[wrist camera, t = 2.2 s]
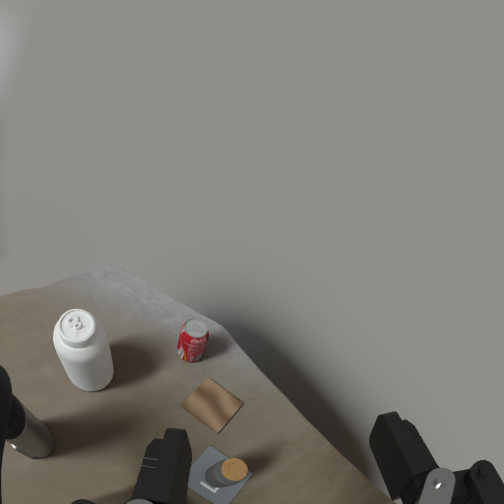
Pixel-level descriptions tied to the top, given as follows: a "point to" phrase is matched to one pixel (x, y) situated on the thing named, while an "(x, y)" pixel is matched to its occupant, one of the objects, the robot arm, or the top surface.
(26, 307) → the top surface
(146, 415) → the top surface
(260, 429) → the top surface
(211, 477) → the bottle
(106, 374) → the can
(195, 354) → the soda can
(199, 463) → the tile
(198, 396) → the pad
